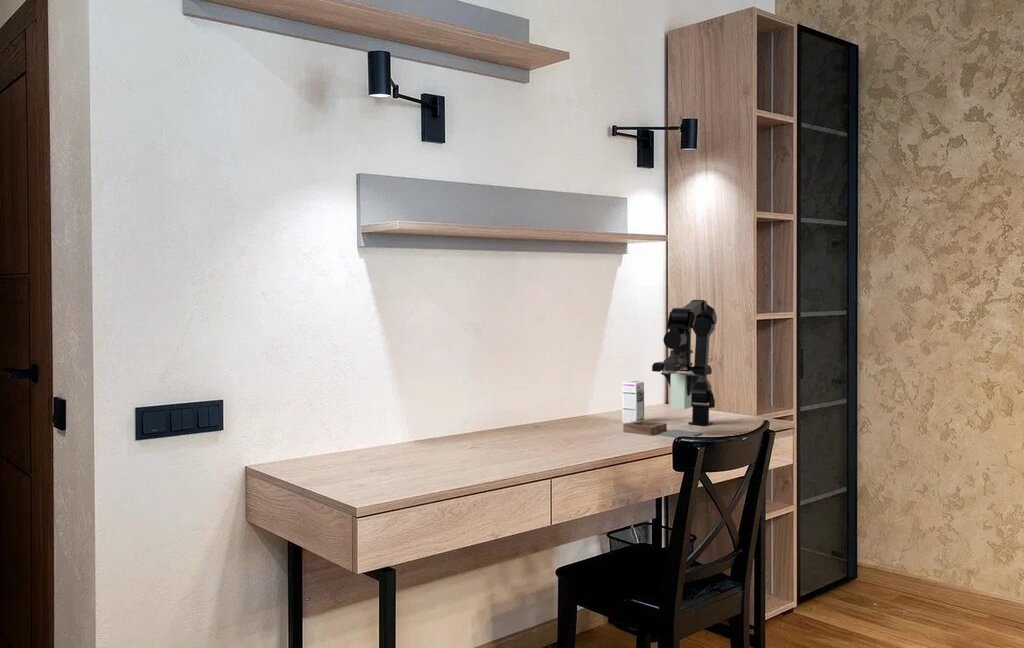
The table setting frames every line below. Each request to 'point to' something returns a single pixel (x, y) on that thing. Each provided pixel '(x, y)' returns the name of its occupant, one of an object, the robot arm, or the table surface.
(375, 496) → the table surface
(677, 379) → the sage block
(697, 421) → the robot arm
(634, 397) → the syrup box
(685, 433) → the mat
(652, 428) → the pocket block
